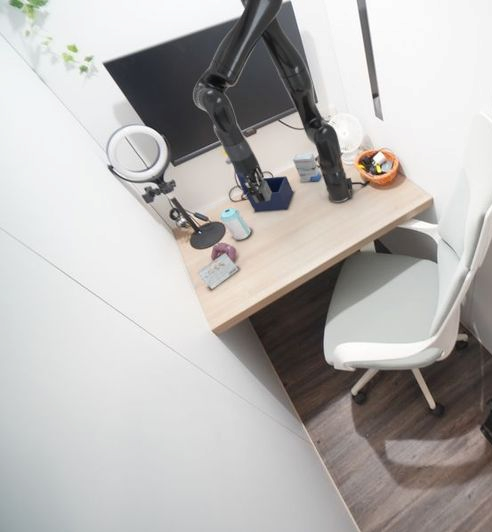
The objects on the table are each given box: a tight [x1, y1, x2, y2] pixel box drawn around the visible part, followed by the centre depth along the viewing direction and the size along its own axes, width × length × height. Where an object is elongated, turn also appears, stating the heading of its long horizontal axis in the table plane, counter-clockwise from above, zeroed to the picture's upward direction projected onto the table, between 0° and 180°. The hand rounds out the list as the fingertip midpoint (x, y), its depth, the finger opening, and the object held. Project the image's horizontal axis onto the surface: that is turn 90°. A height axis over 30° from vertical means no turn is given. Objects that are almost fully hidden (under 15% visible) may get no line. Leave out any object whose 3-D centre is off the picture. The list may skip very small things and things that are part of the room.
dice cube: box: [252, 181, 272, 203], centre depth 113 cm, size 5×5×5 cm
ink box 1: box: [196, 252, 239, 290], centre depth 113 cm, size 2×11×10 cm, turn 140°
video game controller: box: [210, 242, 237, 263], centre depth 122 cm, size 10×5×7 cm, turn 71°
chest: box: [245, 175, 294, 213], centre depth 141 cm, size 15×12×9 cm
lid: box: [225, 157, 248, 196], centre depth 132 cm, size 15×12×5 cm
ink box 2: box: [292, 153, 321, 183], centre depth 149 cm, size 8×5×12 cm, turn 84°
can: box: [220, 207, 251, 241], centre depth 127 cm, size 7×7×12 cm
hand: (263, 196), depth 114 cm, fingers closed on dice cube, 5 cm apart
